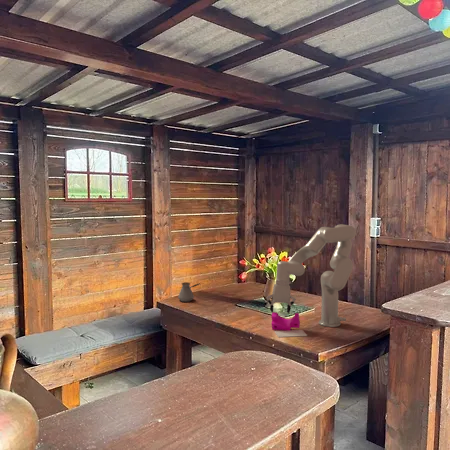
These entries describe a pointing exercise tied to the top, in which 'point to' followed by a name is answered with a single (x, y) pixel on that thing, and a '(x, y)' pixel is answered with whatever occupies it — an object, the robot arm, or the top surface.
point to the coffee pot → (186, 292)
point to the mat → (290, 333)
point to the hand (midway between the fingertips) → (279, 312)
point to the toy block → (284, 322)
